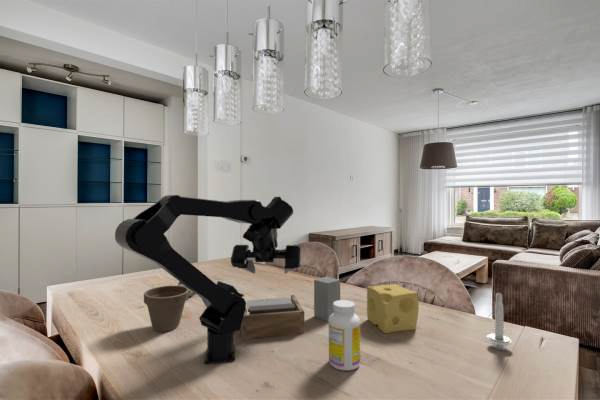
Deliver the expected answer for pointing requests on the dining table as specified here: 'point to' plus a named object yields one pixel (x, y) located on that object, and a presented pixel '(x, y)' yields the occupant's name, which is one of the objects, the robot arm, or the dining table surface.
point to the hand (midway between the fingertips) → (270, 272)
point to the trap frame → (274, 322)
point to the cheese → (392, 308)
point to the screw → (499, 326)
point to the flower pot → (166, 306)
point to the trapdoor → (270, 305)
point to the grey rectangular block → (325, 296)
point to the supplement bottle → (344, 336)
